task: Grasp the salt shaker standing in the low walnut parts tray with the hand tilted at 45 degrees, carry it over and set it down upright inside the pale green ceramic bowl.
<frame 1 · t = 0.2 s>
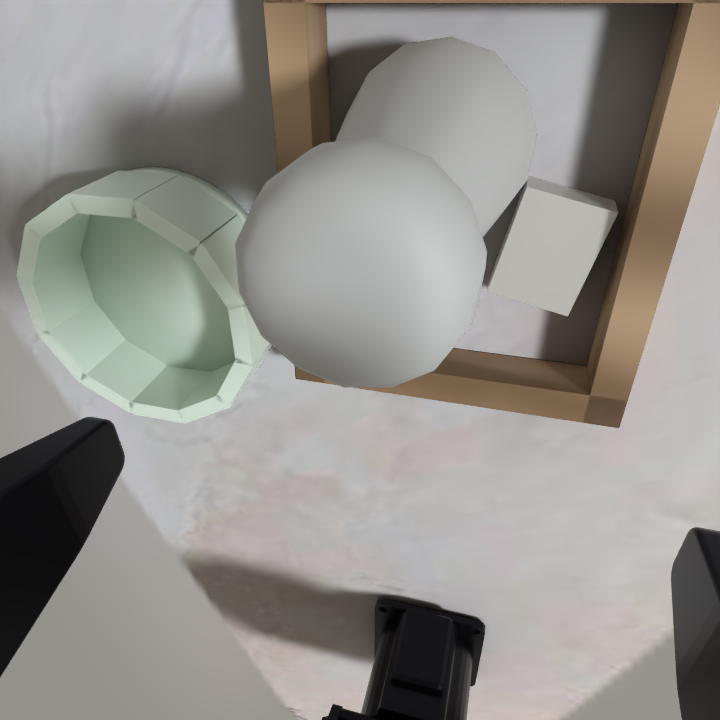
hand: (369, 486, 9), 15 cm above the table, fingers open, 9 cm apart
off-white rectangular block: (548, 237, 21), resting in tray
tray: (470, 203, 21), on the table
bowl: (181, 280, 26), on the table
salt shaker: (449, 127, 20), resting in tray
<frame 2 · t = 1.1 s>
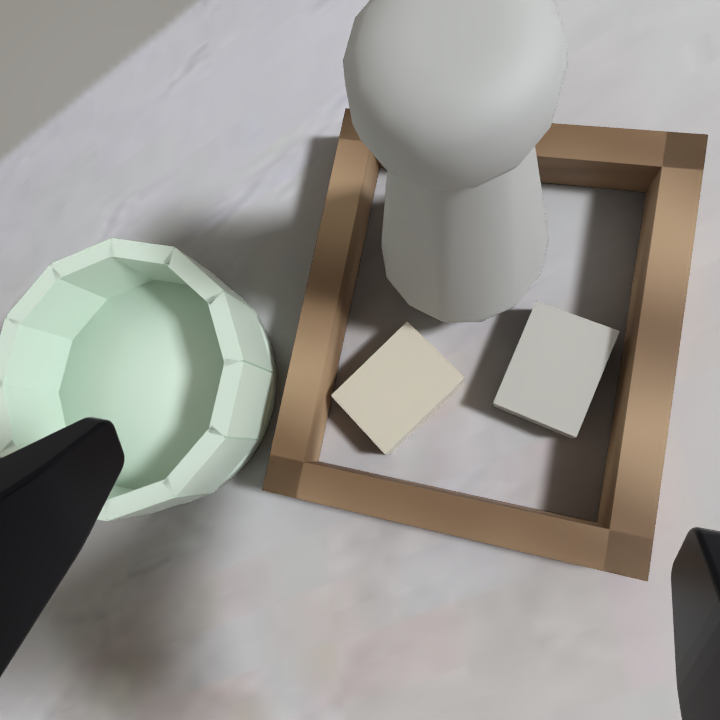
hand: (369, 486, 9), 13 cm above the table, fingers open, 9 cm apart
off-white rectangular block: (550, 373, 22), resting in tray
tray: (479, 329, 22), on the table
bowl: (164, 386, 25), on the table
beige rectangular block: (401, 391, 23), resting in tray
salt shaker: (464, 265, 23), resting in tray
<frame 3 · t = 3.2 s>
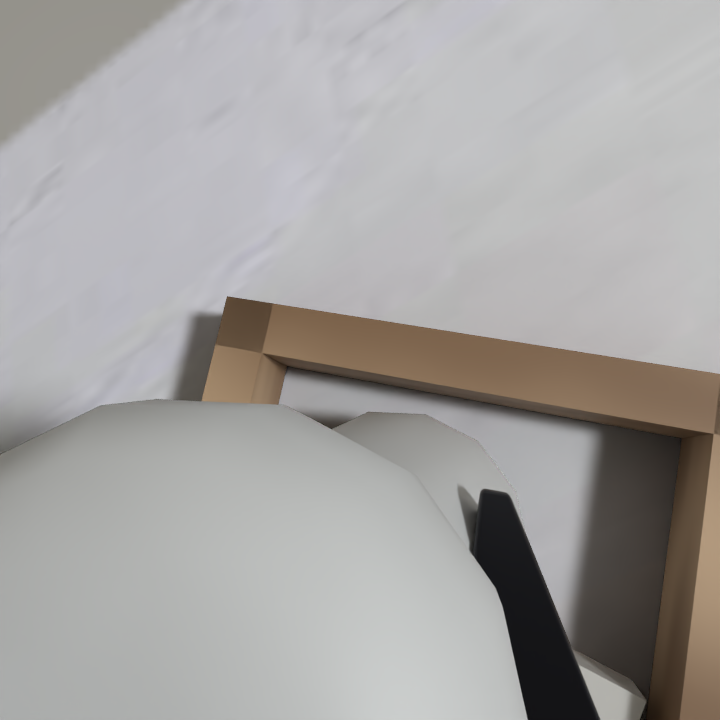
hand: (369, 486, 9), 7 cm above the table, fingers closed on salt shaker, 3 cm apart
tray: (425, 641, 15), on the table
salt shaker: (406, 530, 15), resting in tray, touching gripper
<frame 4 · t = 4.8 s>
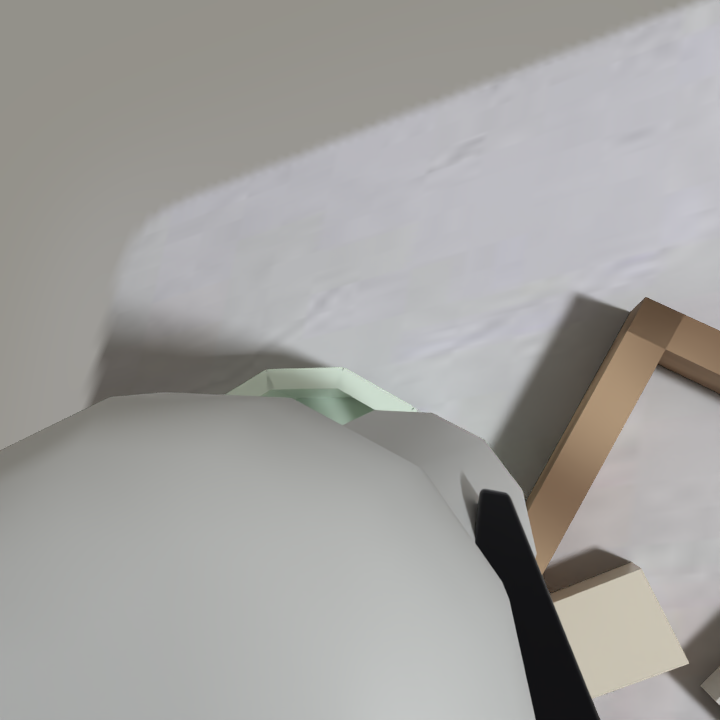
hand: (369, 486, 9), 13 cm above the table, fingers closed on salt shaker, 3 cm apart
tray: (711, 595, 19), on the table
bowl: (330, 511, 22), on the table
beige rectangular block: (595, 624, 20), resting in tray
salt shaker: (412, 528, 15), point 6 cm above the table, touching gripper
when the fingers open (8 cm above the table, at t = 6.2 s): salt shaker drops 1 cm, resting on bowl.
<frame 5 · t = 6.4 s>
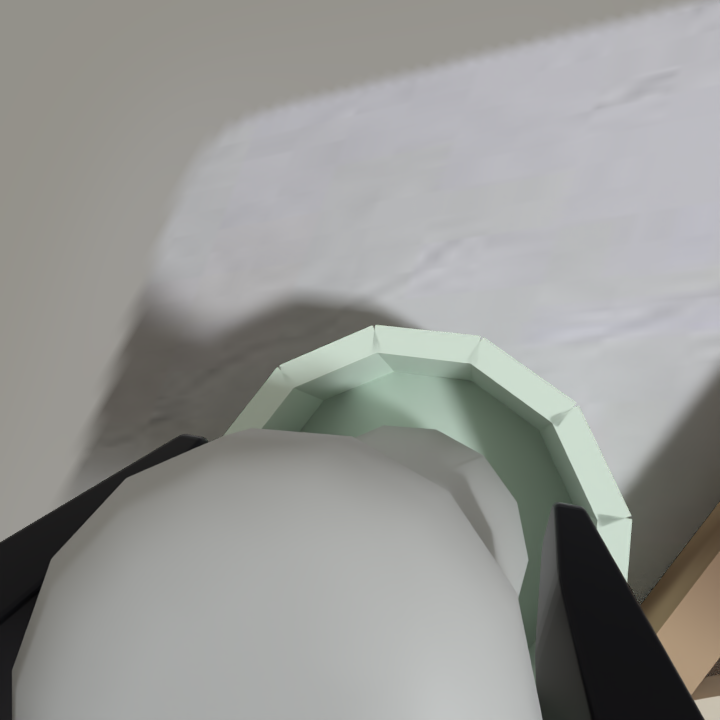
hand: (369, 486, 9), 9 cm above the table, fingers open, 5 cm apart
bowl: (415, 522, 17), on the table
salt shaker: (413, 534, 17), point 1 cm above the table, touching bowl
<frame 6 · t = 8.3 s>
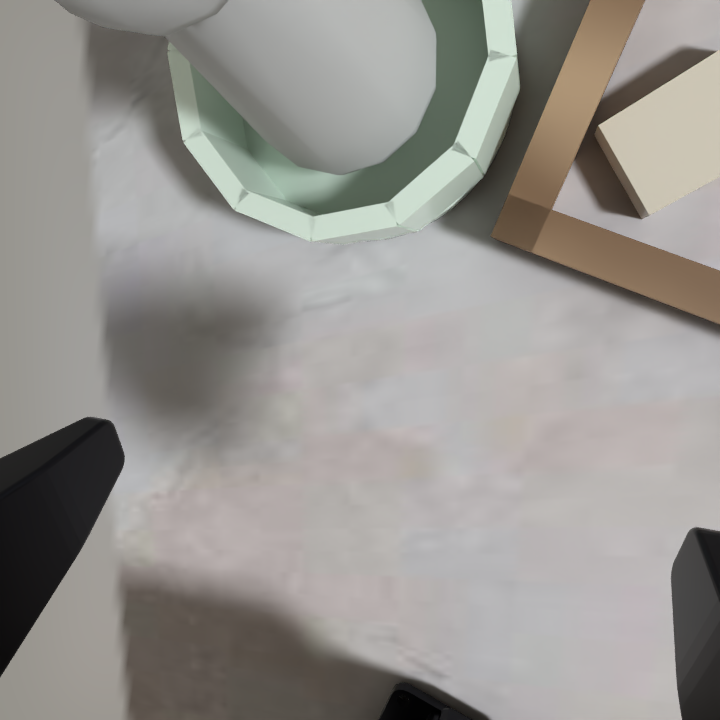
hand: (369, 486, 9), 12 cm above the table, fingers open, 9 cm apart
bowl: (365, 91, 20), on the table
beige rectangular block: (679, 141, 18), resting in tray
salt shaker: (363, 94, 19), point 1 cm above the table, touching bowl
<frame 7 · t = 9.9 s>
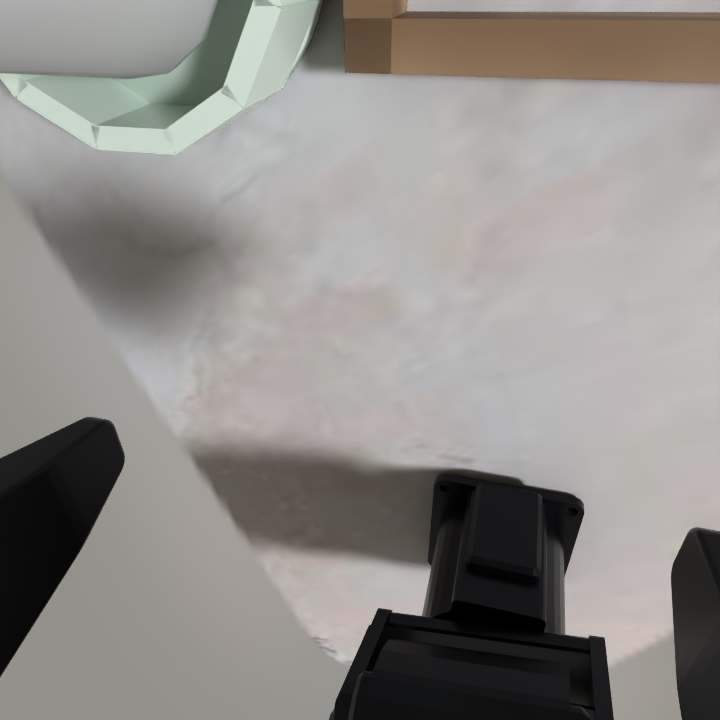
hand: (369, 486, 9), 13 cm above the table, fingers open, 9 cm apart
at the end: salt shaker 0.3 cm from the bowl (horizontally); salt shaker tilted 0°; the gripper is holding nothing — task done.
